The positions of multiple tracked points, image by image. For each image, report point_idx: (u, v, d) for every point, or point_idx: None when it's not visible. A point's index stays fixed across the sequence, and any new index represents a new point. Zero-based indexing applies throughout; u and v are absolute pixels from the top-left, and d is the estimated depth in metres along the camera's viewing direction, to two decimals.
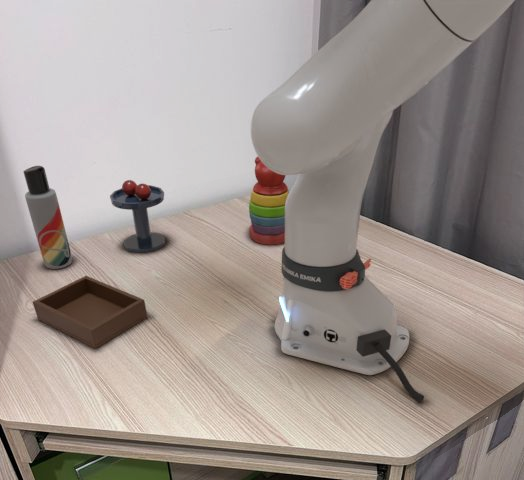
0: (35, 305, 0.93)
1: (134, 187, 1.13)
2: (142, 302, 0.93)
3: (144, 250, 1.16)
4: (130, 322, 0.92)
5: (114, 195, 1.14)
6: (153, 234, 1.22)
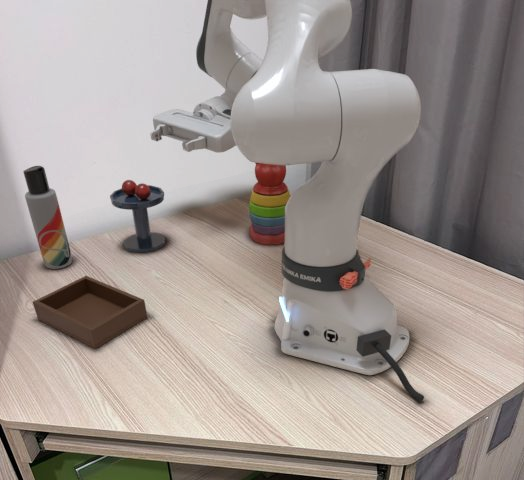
0: (35, 305, 0.93)
1: (133, 186, 1.13)
2: (142, 302, 0.93)
3: (144, 250, 1.16)
4: (130, 322, 0.92)
5: (114, 195, 1.14)
6: (153, 234, 1.22)
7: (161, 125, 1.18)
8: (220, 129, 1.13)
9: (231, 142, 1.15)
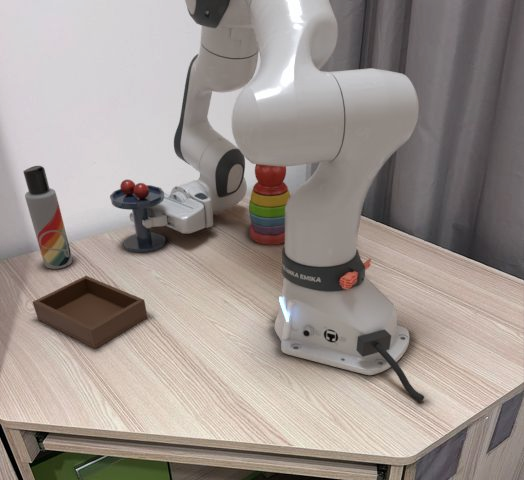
0: (35, 305, 0.93)
1: (131, 184, 1.13)
2: (142, 302, 0.93)
3: (144, 250, 1.16)
4: (130, 322, 0.92)
5: (114, 195, 1.14)
6: (153, 234, 1.22)
7: None
8: (188, 211, 1.15)
9: (199, 224, 1.16)
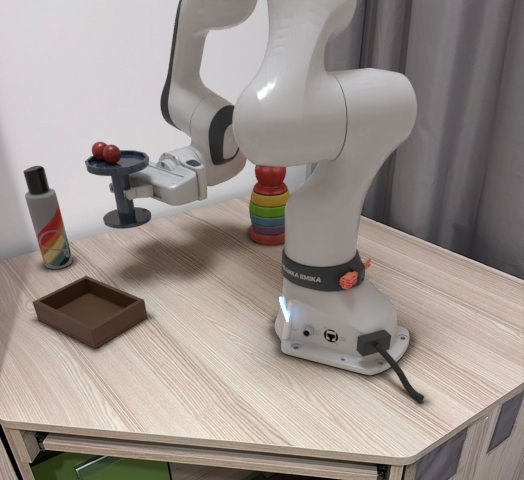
0: (35, 305, 0.93)
1: (99, 143, 0.96)
2: (142, 302, 0.93)
3: (126, 226, 0.99)
4: (130, 322, 0.92)
5: (90, 161, 0.96)
6: (137, 209, 1.05)
7: None
8: (177, 180, 0.98)
9: (191, 196, 0.99)
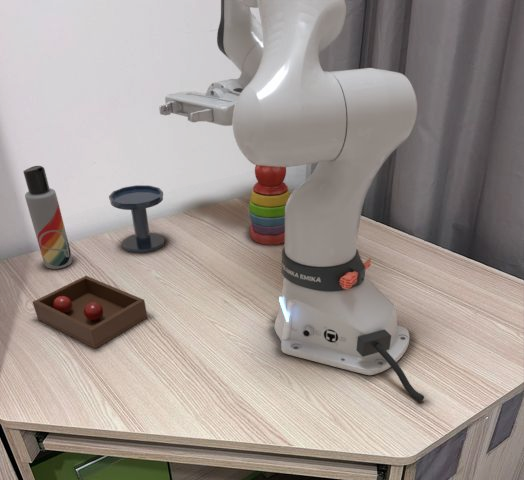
0: (35, 305, 0.93)
1: (63, 298, 0.94)
2: (142, 302, 0.93)
3: (143, 250, 1.16)
4: (130, 322, 0.92)
5: (113, 195, 1.14)
6: (152, 234, 1.22)
7: (172, 101, 1.17)
8: (227, 103, 1.11)
9: None
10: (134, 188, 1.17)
